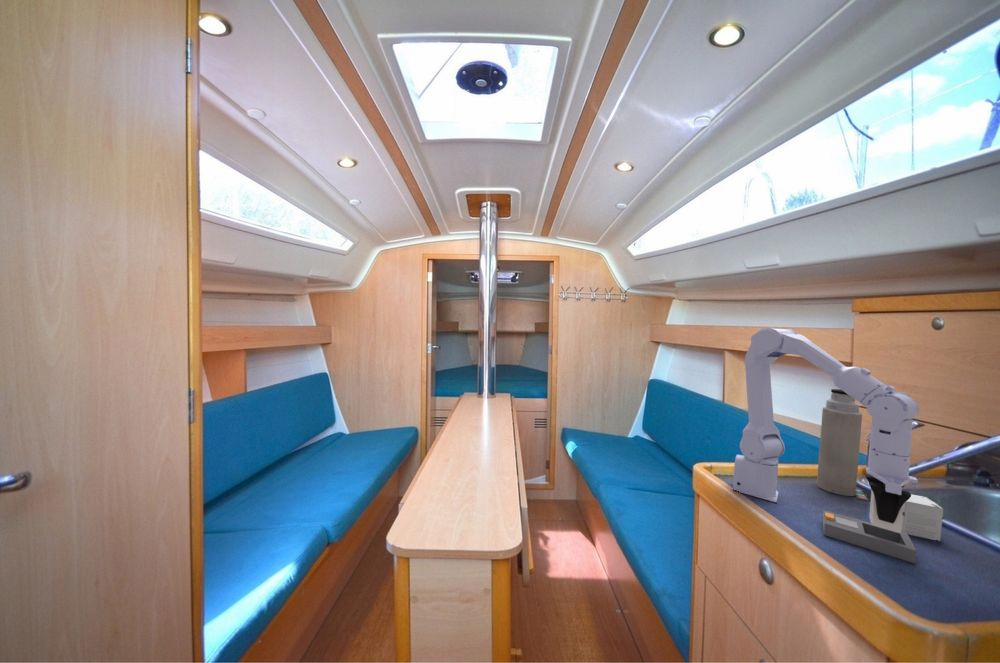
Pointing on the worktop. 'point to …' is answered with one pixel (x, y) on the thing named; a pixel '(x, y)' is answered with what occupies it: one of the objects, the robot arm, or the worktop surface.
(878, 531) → the sliding tray box
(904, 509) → the skincare box
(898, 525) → the light grey rectangular block
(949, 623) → the worktop surface
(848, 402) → the thermos bottle
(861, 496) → the smartphone
